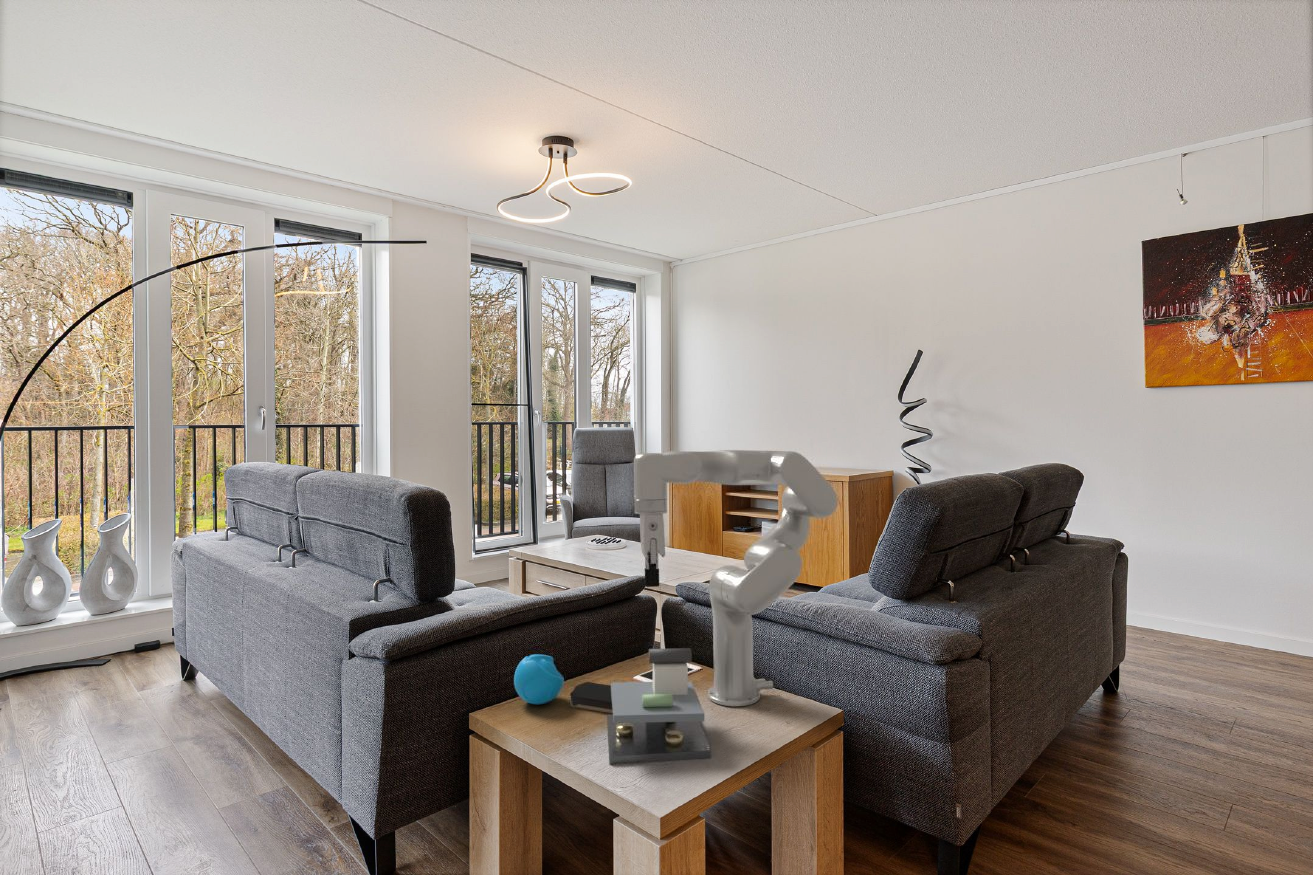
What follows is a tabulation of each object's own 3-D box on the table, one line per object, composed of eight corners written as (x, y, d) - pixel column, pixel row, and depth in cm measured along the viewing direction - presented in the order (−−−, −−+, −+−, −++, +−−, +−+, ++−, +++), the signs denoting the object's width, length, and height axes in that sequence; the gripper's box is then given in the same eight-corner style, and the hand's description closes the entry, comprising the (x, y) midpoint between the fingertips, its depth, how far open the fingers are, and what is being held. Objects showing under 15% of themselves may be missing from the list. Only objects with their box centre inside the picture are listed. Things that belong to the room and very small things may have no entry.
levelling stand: (695, 716, 154) (694, 692, 154) (710, 757, 134) (710, 731, 134) (606, 721, 152) (606, 697, 152) (609, 764, 132) (608, 737, 132)
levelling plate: (690, 692, 153) (691, 640, 153) (704, 726, 135) (705, 667, 135) (610, 694, 151) (611, 642, 151) (613, 729, 133) (614, 669, 133)
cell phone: (702, 670, 185) (702, 667, 185) (656, 689, 172) (656, 685, 172) (678, 663, 191) (678, 660, 191) (632, 680, 178) (632, 677, 178)
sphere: (571, 705, 162) (570, 656, 162) (526, 716, 156) (525, 666, 156) (550, 689, 172) (549, 643, 172) (506, 700, 166) (506, 652, 165)
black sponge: (642, 704, 162) (642, 689, 162) (626, 718, 154) (626, 702, 154) (583, 695, 169) (583, 680, 169) (565, 707, 161) (565, 692, 161)
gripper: (670, 509, 150) (672, 592, 150) (663, 502, 165) (664, 578, 165) (636, 510, 149) (638, 594, 149) (632, 503, 164) (633, 579, 164)
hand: (652, 585), depth 157 cm, fingers closed
